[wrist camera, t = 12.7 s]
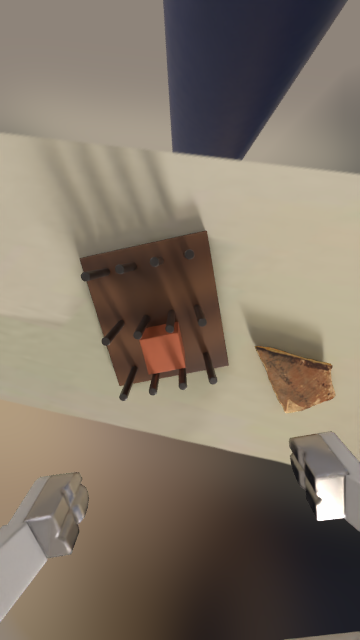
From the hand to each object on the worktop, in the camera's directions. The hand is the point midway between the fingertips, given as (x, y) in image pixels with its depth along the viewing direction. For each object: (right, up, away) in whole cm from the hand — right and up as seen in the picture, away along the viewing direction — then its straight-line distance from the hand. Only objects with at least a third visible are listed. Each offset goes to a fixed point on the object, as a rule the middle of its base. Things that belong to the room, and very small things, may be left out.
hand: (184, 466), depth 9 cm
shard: (+14, -2, +21) cm, 25 cm away
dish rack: (-3, +6, +19) cm, 20 cm away
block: (-2, +3, +19) cm, 19 cm away
